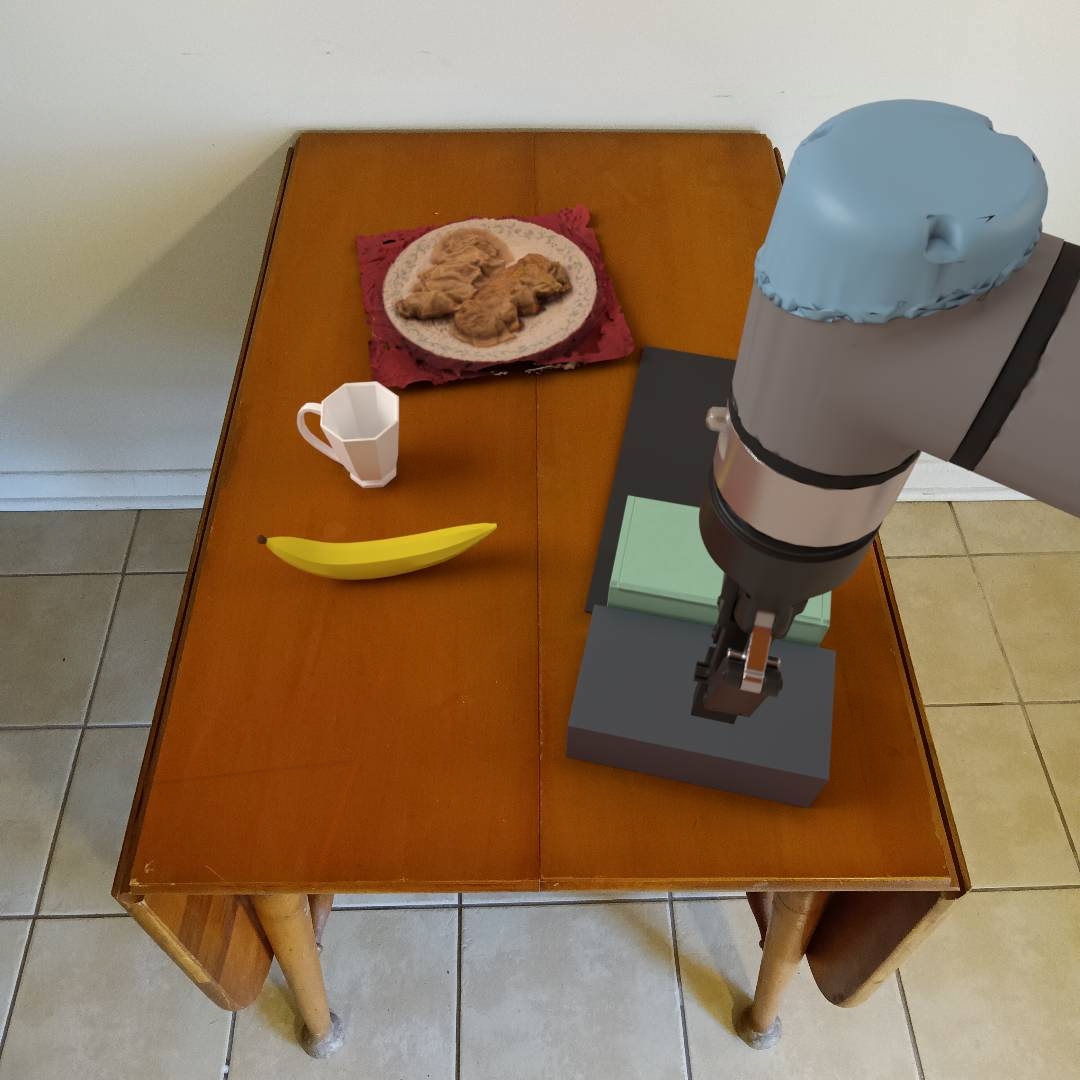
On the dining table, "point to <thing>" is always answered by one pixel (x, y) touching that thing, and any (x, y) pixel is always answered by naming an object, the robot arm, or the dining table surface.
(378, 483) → the cup
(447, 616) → the dining table surface
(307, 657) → the dining table surface
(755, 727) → the block
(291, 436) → the dining table surface
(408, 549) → the banana
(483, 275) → the plate with food
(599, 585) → the mat
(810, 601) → the open box
